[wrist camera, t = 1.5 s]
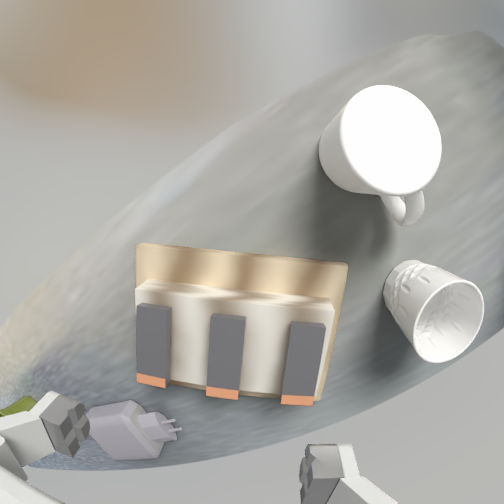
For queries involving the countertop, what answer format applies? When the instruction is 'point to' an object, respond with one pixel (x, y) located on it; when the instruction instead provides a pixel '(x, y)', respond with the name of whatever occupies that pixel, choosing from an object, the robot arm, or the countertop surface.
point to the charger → (130, 430)
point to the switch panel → (246, 279)
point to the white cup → (434, 309)
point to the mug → (383, 149)
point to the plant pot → (19, 406)
